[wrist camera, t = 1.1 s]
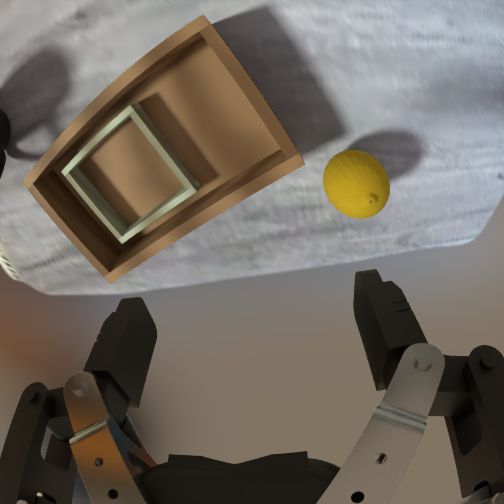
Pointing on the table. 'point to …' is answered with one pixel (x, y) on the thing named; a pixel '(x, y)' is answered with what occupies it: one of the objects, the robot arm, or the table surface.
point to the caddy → (161, 152)
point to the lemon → (356, 184)
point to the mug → (3, 138)
